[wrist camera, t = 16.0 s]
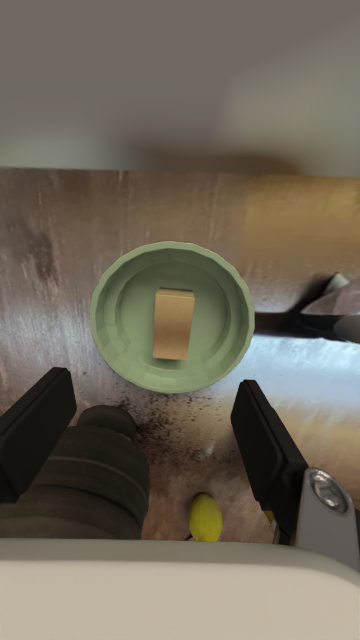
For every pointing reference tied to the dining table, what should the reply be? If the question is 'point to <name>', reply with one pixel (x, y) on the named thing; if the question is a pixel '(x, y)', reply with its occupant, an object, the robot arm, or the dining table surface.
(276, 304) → the dining table surface
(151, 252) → the green bowl
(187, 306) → the eraser
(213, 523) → the fruit
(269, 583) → the robot arm
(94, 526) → the pot
